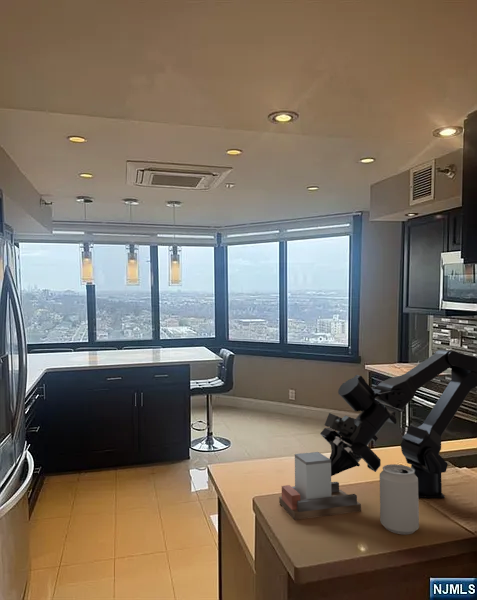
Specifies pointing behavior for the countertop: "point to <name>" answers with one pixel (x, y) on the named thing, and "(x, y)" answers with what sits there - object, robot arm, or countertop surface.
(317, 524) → the countertop surface
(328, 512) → the grey rail holder
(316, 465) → the grey rectangular box
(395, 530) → the can
